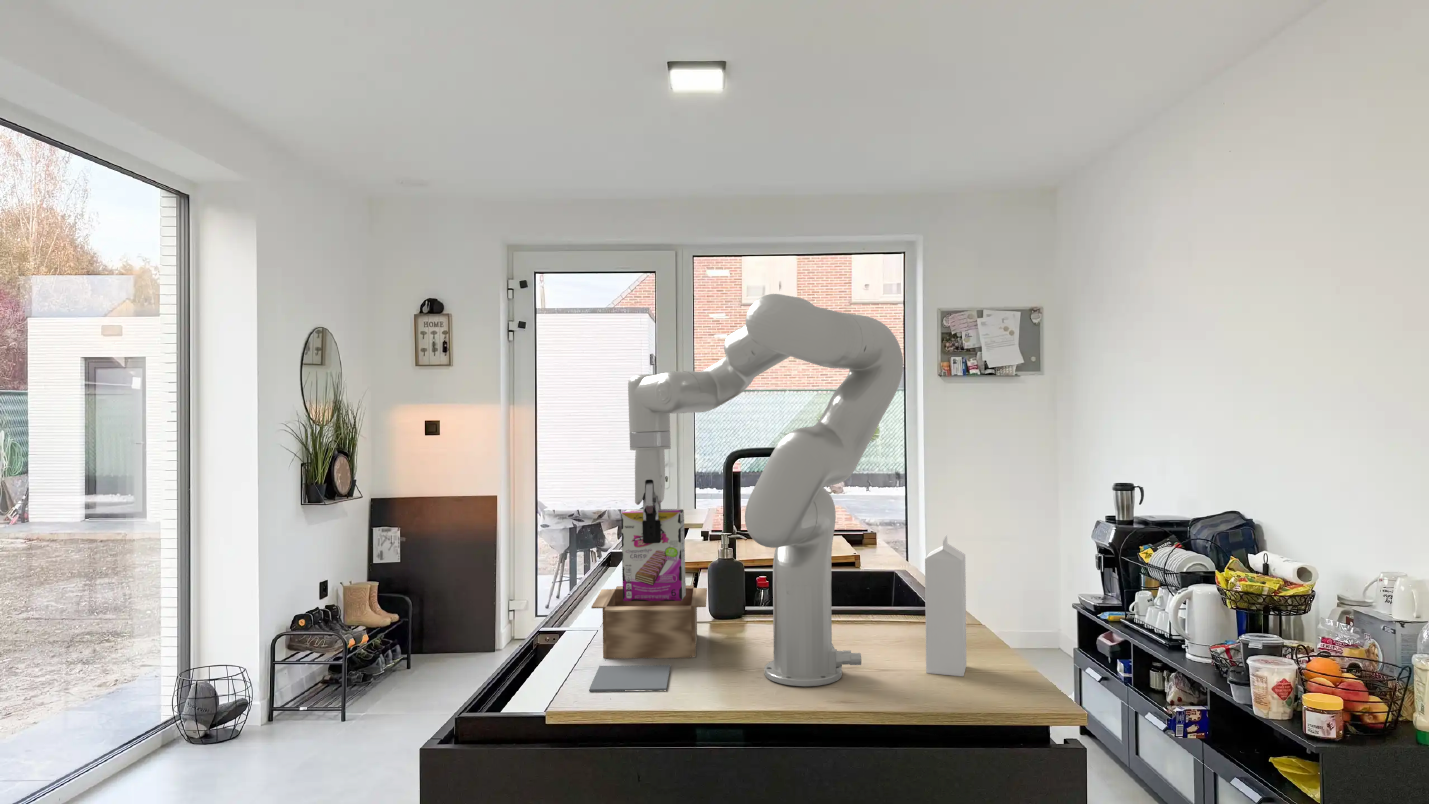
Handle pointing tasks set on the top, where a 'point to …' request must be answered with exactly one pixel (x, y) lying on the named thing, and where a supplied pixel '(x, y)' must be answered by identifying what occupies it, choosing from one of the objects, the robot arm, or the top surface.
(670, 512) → the candy bar box
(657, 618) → the open wooden box
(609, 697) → the top surface
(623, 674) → the mat
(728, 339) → the robot arm
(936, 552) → the milk
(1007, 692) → the top surface
